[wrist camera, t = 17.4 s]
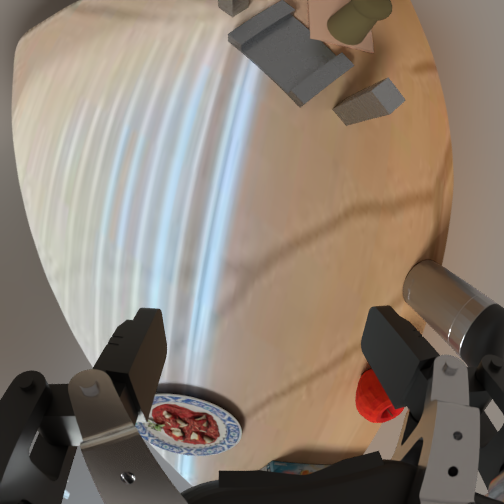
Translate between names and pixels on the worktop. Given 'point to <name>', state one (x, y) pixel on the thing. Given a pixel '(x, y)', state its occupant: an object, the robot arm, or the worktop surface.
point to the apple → (374, 400)
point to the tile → (319, 11)
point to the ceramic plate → (189, 426)
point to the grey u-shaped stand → (304, 62)
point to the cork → (357, 19)
